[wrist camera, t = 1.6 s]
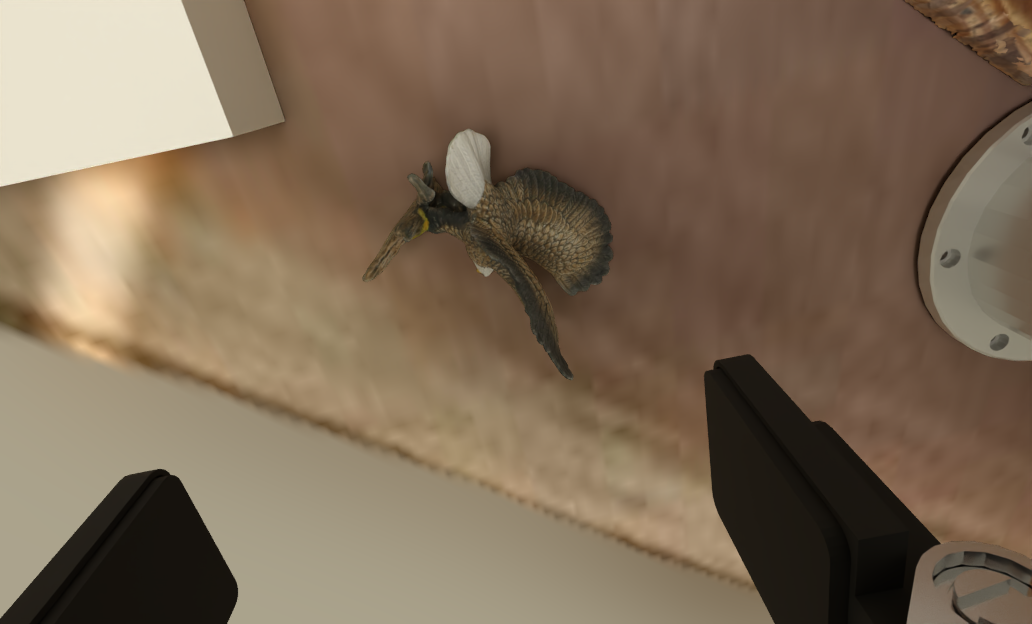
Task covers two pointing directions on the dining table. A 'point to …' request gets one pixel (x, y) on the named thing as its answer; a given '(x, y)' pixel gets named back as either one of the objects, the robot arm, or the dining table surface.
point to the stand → (124, 81)
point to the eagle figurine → (510, 230)
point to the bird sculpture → (989, 30)
